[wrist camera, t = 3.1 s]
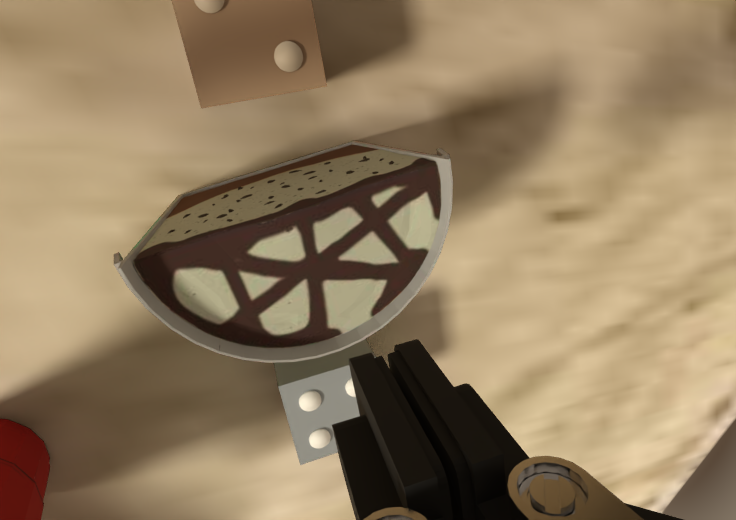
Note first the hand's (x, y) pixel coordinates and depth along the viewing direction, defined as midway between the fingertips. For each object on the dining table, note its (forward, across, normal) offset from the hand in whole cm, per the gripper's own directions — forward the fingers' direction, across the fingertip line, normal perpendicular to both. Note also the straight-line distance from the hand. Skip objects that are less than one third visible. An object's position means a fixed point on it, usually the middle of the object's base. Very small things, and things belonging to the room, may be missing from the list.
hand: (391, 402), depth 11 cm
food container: (+16, +1, 0) cm, 17 cm away
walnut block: (+16, +1, -10) cm, 19 cm away
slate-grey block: (+16, +1, +8) cm, 19 cm away
